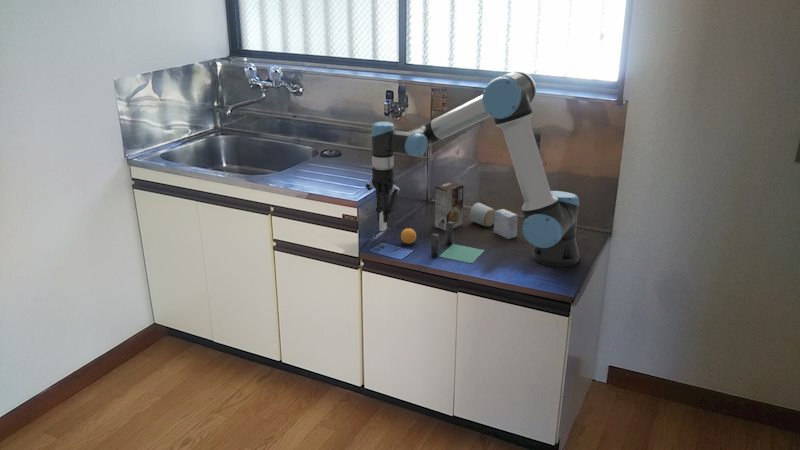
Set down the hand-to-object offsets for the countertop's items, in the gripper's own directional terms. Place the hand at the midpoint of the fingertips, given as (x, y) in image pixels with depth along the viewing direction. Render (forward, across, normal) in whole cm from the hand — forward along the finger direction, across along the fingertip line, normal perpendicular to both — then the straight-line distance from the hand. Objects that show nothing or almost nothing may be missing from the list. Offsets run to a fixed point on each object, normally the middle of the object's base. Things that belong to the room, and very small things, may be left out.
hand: (383, 229), depth 245 cm
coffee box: (+3, -16, -22) cm, 28 cm away
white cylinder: (+3, -28, -31) cm, 41 cm away
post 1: (+3, -23, +6) cm, 24 cm away
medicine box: (+3, -38, -23) cm, 45 cm away
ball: (+1, -10, 0) cm, 10 cm away
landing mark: (+3, -31, 0) cm, 31 cm away
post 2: (+3, -23, -6) cm, 24 cm away
